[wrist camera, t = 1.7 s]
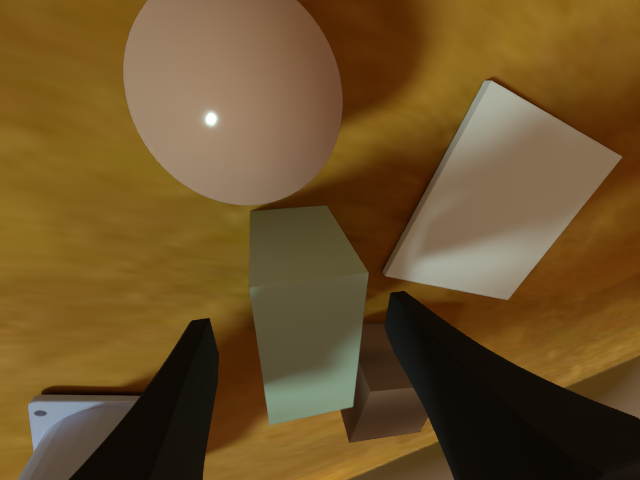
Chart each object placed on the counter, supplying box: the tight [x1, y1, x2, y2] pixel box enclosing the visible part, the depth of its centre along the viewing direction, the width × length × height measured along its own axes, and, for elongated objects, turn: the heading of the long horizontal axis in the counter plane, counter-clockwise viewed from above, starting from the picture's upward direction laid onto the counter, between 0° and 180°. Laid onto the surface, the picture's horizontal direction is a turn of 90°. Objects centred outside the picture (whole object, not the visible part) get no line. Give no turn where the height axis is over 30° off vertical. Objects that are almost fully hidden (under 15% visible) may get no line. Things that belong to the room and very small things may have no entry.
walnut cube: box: [341, 323, 428, 443], centre depth 17 cm, size 4×4×4 cm
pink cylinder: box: [123, 0, 343, 205], centre depth 8 cm, size 4×4×5 cm
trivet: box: [382, 81, 622, 300], centre depth 15 cm, size 10×10×1 cm
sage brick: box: [249, 205, 369, 425], centre depth 12 cm, size 7×4×6 cm, turn 179°
